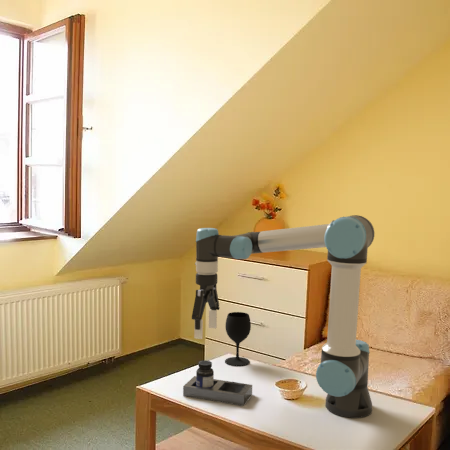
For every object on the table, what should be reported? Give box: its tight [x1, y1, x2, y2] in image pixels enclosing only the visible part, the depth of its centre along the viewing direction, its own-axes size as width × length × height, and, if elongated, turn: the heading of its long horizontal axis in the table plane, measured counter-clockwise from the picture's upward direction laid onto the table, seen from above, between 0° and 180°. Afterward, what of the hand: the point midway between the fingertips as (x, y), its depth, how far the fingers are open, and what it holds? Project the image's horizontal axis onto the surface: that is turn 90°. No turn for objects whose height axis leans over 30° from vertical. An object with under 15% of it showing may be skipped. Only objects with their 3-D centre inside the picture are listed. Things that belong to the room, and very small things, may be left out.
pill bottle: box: [195, 360, 215, 389], centre depth 184 cm, size 6×6×11 cm
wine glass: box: [224, 311, 252, 367], centre depth 216 cm, size 10×10×20 cm
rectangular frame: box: [182, 375, 253, 407], centre depth 183 cm, size 22×10×4 cm, turn 71°
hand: (205, 333), depth 183 cm, fingers open, 13 cm apart
